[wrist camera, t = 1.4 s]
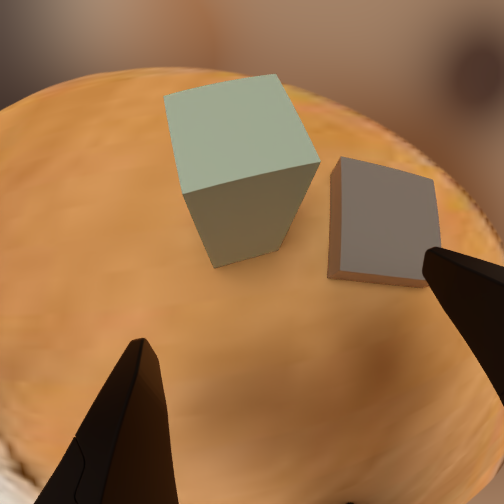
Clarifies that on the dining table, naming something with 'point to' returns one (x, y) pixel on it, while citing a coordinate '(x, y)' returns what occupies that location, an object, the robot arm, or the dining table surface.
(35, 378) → the dining table surface
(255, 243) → the sage green block
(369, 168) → the slate plinth
